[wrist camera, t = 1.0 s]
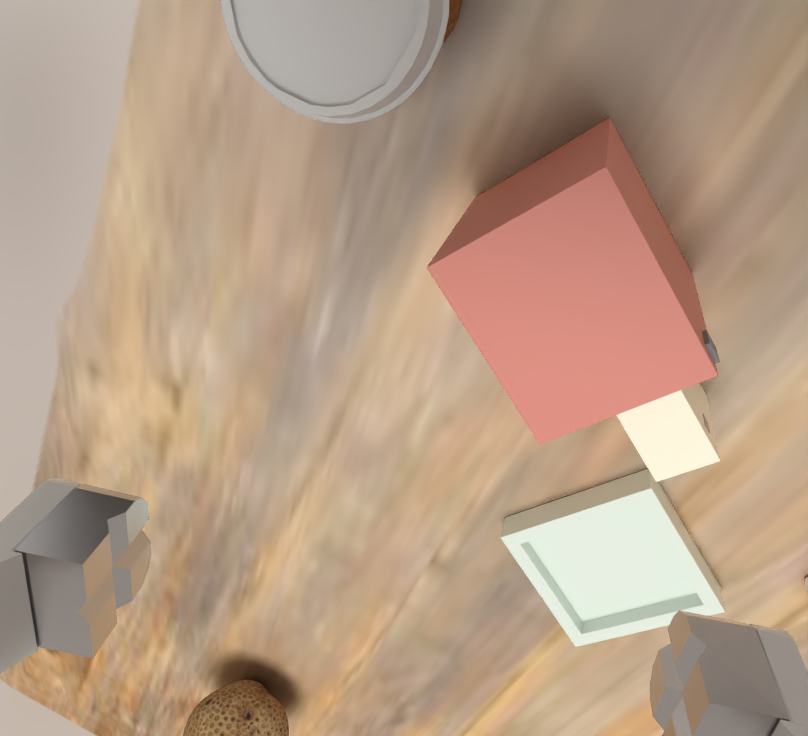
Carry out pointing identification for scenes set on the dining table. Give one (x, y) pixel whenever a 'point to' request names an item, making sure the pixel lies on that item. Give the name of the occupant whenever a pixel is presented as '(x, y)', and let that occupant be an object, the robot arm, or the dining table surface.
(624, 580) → the dish
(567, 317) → the block
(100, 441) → the dining table surface
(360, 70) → the disposable coffee cup
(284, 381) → the dining table surface
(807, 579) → the medicine bottle
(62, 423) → the dining table surface
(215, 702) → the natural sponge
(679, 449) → the tall beige block
